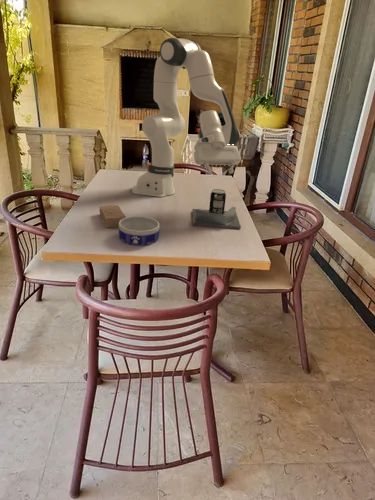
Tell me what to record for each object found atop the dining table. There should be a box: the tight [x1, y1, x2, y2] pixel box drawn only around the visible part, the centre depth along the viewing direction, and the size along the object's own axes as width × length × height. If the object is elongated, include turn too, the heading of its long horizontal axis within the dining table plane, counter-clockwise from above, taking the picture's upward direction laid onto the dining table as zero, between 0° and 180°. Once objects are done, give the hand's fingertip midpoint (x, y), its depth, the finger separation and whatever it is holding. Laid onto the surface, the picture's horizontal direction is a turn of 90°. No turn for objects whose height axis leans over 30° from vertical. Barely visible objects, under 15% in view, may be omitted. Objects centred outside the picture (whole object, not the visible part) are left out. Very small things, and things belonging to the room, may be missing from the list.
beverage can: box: [208, 188, 227, 214], centre depth 164 cm, size 7×7×12 cm
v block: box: [192, 206, 242, 230], centre depth 166 cm, size 18×20×5 cm
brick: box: [99, 204, 127, 228], centre depth 157 cm, size 17×8×5 cm, turn 22°
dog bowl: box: [118, 215, 161, 247], centre depth 143 cm, size 15×15×6 cm
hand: (221, 172), depth 157 cm, fingers open, 8 cm apart
